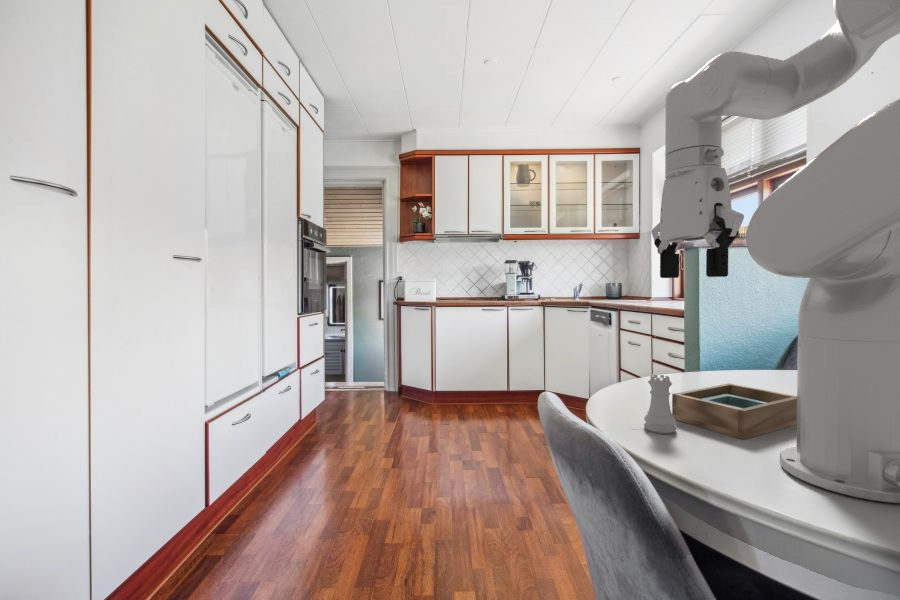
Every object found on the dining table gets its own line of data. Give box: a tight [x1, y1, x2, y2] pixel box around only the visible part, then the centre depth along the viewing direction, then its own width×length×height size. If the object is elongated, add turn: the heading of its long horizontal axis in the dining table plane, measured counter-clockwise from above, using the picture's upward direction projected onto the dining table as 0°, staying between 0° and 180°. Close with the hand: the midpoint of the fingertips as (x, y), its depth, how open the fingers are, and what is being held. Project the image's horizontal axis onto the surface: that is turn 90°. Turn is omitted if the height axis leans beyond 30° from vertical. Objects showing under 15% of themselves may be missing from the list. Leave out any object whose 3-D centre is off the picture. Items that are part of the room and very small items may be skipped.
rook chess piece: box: [643, 374, 677, 435], centre depth 65 cm, size 4×4×8 cm
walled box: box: [671, 382, 797, 441], centre depth 69 cm, size 11×15×4 cm
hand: (691, 277), depth 68 cm, fingers open, 9 cm apart
